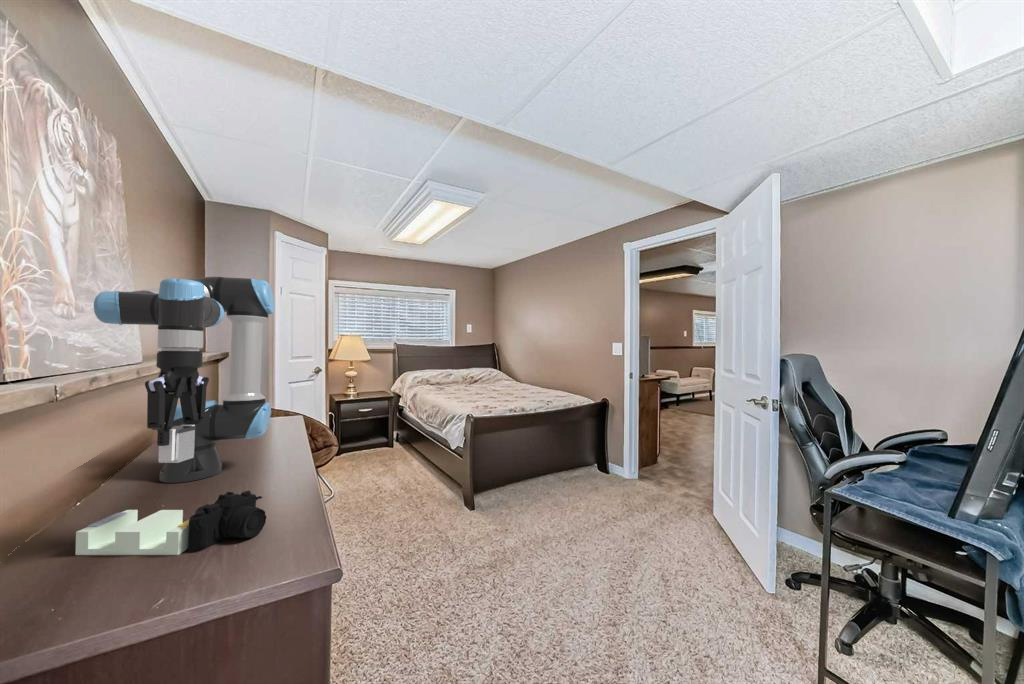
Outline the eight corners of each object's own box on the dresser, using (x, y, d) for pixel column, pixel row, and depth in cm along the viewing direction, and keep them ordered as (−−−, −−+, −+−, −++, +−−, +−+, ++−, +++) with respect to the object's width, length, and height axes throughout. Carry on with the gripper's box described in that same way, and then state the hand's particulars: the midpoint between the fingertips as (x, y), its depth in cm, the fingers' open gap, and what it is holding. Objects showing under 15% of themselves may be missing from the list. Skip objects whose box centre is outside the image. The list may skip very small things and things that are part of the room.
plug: (175, 457, 83) (176, 425, 83) (194, 457, 83) (195, 425, 83) (157, 462, 79) (159, 429, 79) (177, 462, 79) (179, 429, 79)
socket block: (126, 530, 84) (126, 508, 84) (216, 530, 84) (217, 508, 84) (75, 555, 74) (76, 530, 74) (178, 555, 74) (178, 530, 74)
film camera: (218, 558, 74) (218, 513, 74) (180, 552, 76) (181, 508, 76) (281, 523, 88) (282, 485, 88) (248, 518, 90) (248, 481, 91)
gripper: (195, 350, 90) (192, 447, 89) (122, 349, 73) (117, 469, 72) (227, 350, 90) (224, 447, 90) (161, 349, 73) (157, 469, 72)
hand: (176, 456), depth 81 cm, fingers closed on plug, 4 cm apart
